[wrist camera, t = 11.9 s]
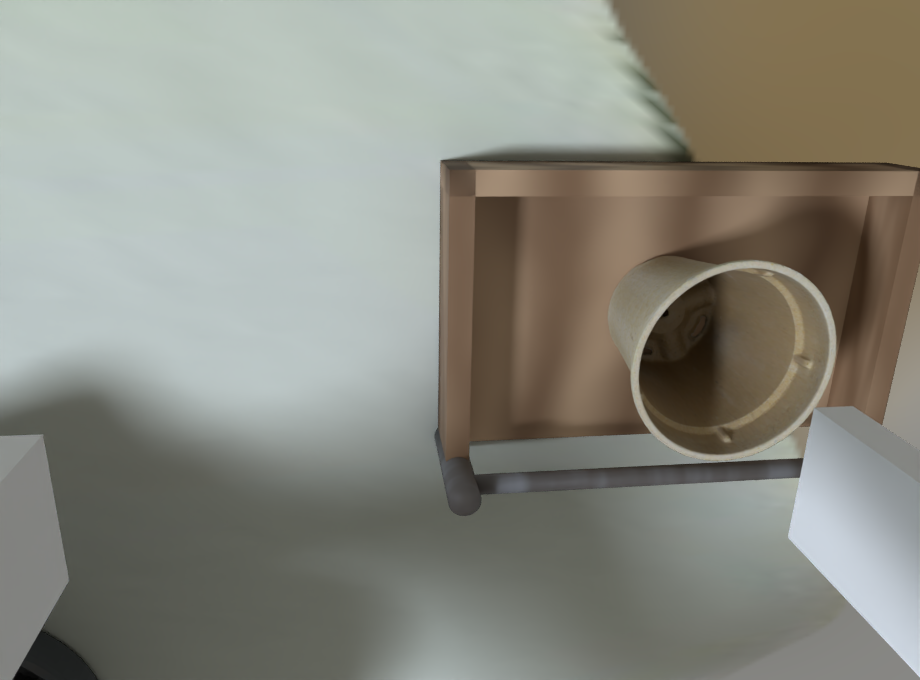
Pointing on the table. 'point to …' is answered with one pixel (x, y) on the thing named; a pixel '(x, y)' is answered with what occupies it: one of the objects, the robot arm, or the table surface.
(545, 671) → the table surface
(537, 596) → the table surface
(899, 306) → the wooden tray
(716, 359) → the flower pot
